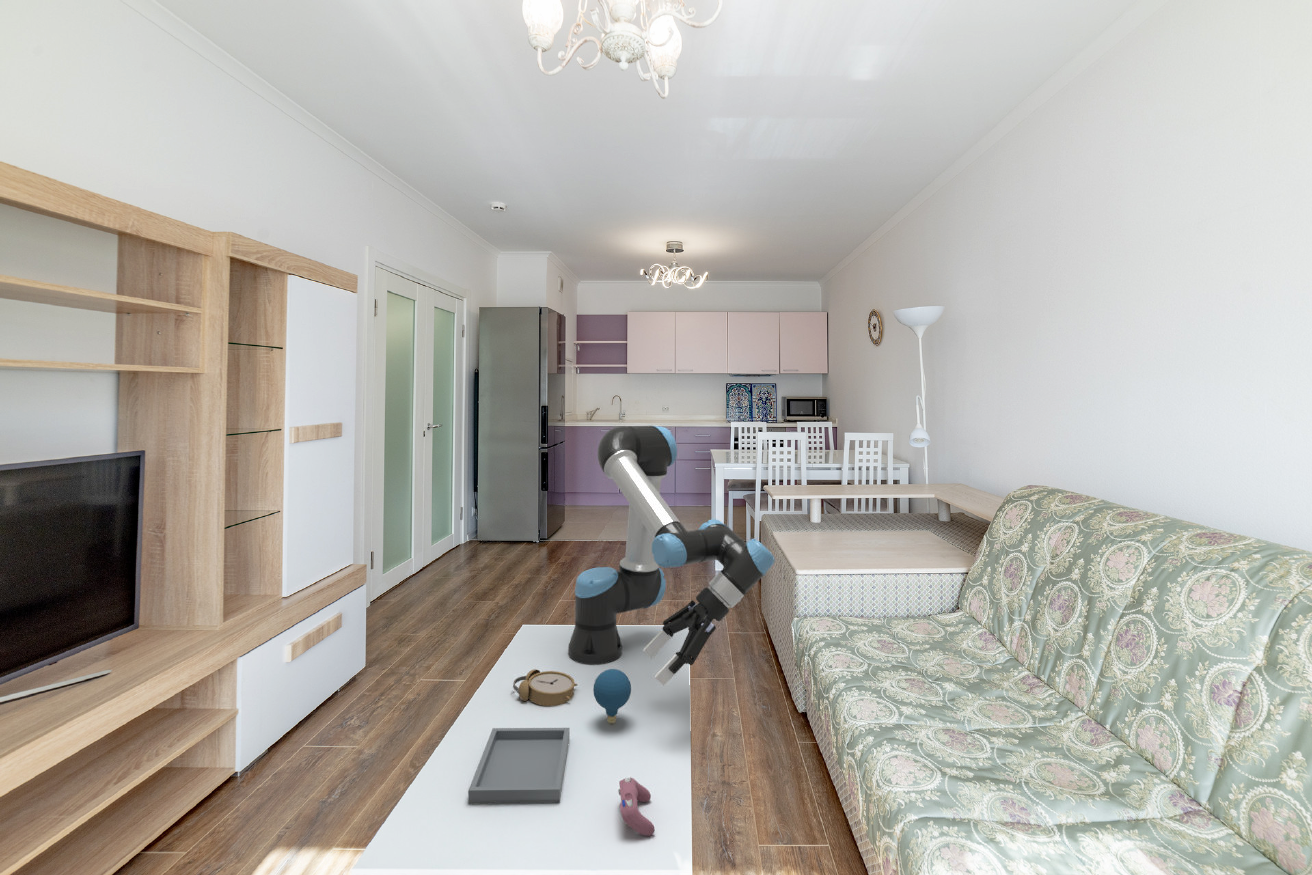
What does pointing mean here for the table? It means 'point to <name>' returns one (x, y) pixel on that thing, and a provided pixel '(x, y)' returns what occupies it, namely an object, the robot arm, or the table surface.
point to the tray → (521, 766)
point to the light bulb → (612, 691)
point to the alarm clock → (545, 687)
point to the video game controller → (634, 806)
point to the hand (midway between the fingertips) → (652, 667)
